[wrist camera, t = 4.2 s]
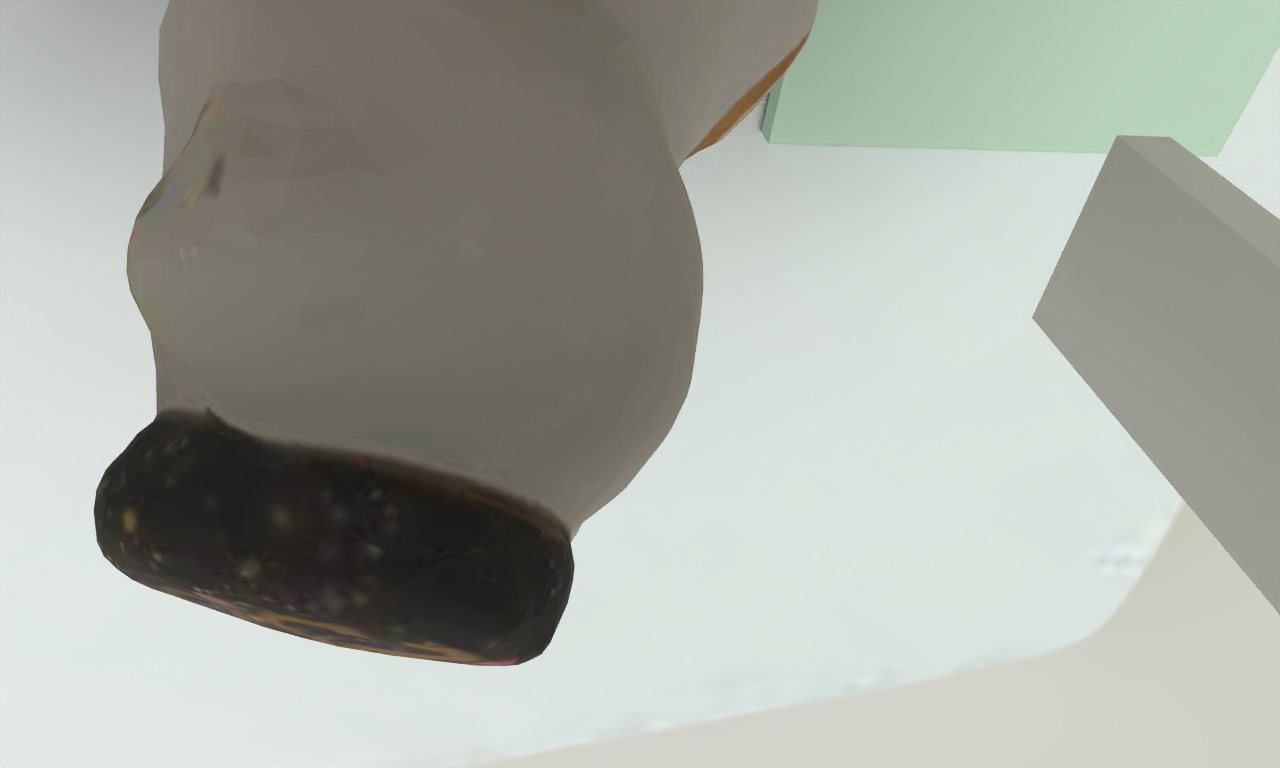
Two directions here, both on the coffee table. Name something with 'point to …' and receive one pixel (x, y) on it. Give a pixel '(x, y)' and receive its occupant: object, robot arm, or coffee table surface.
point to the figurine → (418, 301)
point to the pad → (1023, 73)
